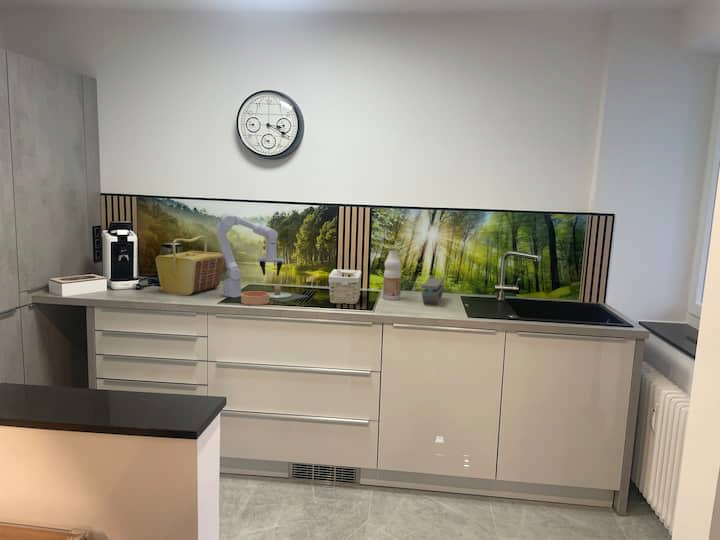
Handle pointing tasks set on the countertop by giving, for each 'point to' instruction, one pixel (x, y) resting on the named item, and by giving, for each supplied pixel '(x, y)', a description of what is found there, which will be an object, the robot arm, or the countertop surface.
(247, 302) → the bowl
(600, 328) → the countertop surface
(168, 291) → the picnic basket
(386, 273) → the fruit juice
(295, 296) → the rubber mat
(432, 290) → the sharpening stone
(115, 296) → the countertop surface
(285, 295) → the lid
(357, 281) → the storage basket
